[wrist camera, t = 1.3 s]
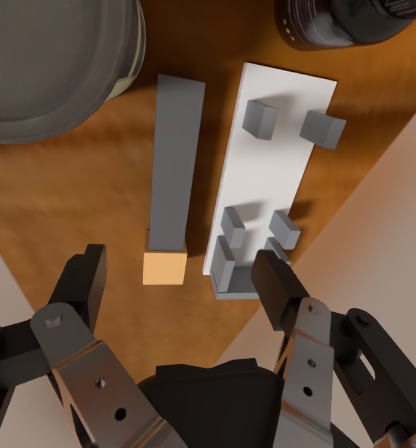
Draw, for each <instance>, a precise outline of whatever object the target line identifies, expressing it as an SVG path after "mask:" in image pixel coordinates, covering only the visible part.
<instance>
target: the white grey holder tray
mask: <svg viewBox="0 0 416 448" xmlns="http://www.w3.org/2000/svg"><path fill="white" fill-rule="evenodd" d="M336 84H337V82H336V81H331V80H326V79H322V78H317V77H312V76H308V75H303V74H298V73H293V72H289V71H284V70H279V69H275V68H270V67H265V66H261V65H256V64H251V63H244V66H243V71H242V76H241V81H240V86H239V91H238V96H237V101H236V106H235V111H234V116H233V121H232V126H231V131H230V136H229V141H228V146H227V151H226V156H225V161H224V166H223V171H222V176H221V181H220V186H219V191H218V196H217V201H216V206H215V211H214V216H213V221H212V226H211V231H210V236H209V241H208V246H207V251H206V256H205V261H204V266H203V274H204V275H210V276H211V280H212V284H213V288H214V292H215V296H216V299H259V296H258V294H257V292H256V289H255V287H254V285H253V283H252V280H251V269H252V266H253V263H254V260H255V257H256V254H257V251H258V250H259V249H272V250H274V252H275V253H276V255H277V256H278V258H279V259H282V260H284V261H285V262H286V263H287V264H288V265H290V263H291V261H290V260H289V258H288V257H287V255H286V254H285V252H284V251H283V249H294V247H295V244H296V242H297V240H298V237H299V235H300V232H301V231H300V229H299V228H298V227H297V226H296V225H295V224H294V223H293V222H292V220H291V219H290V218H289V217H288V214H289V211H290V208H291V205H292V203H293V200H294V197H295V195H296V192H297V189H298V187H299V184H300V181H301V178H302V176H303V173H304V170H305V168H306V165H307V162H308V160H309V157H310V154H311V151H312V149H313V146H314V144H316V145H318V146H320V147H322V148H328V149H335V148H336V146H337V143H338V141H339V139H340V136H341V134H342V131H343V129H344V127H345V124H346V122H347V121H346V120H343V119H339V118H335V117H332V116H328V115H325V114H326V111H327V108H328V105H329V103H330V100H331V97H332V95H333V92H334V89H335V87H336ZM278 242H279V243H280V245H281V246H282V248H283V249H282V248H281V247H280V245H279V244H278Z"/></svg>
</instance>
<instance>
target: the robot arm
mask: <svg viewBox="0 0 416 448" xmlns="http://www.w3.org/2000/svg"><path fill="white" fill-rule="evenodd" d="M106 276H107V261H106V246H105V244H88V246H87V248H86V251H85V254H75V255H74V256H73V257H72V258H71V259H69V260H68V261H67V263H66V265H65V267H64V270H63V272H62V274H61V276H60V278H59V280H58V283H57V285H56V287H55V289H54V291H53V293H52V296H51V298H50V300H49V302H48V304H47V305H46V306H44V307H42V308H41V309H39V310H38V311H37V312H36V313H35V314H34V315H33V317H32V318H31V319H29V320H27V321H24V322H20V323H17V324H13V325H9V326H5V327H0V427H1V424H2V422H3V419H4V416H5V414H6V411H7V408H8V406H9V403H10V401H11V398H12V395H13V393H14V390H15V387H16V386H17V385H19V384H22V383H25V382H28V381H30V380H33V379H36V378H39V377H41V376H44V375H45V376H46V378H47V380H48V382H49V384H50V385H51V387H52V389H53V391H54V393H55V395H56V397H57V399H58V401H59V403H60V405H61V407H62V409H63V411H64V413H65V416H66V418H67V421H68V423H69V426H70V428H71V430H72V432H73V435H74V437H75V438H76V441H77V443H78V444H79V447H80V448H360V447H358V446H357V445H356V444H355V443H354V442H353V441H352V440H351V439H350V438H348V437H347V436H346V435H345V434H344V433H343V432H342V431H340V429H338V428H337V427H336V426H335V425H334V424H333V423H332V422H331V421H330V417H331V400H332V380H333V370H334V371H335V373H336V375H337V377H338V379H339V381H340V382H341V384H342V386H343V388H344V390H345V392H346V394H347V396H348V398H349V399H350V401H351V403H352V405H353V407H354V409H355V410H356V412H357V414H358V416H359V418H360V420H361V422H362V424H363V426H364V427H365V429H366V431H367V433H368V435H369V437H370V439H371V440H372V442H373V444H374V448H416V368H415V367H414V365H413V364H412V363H411V362H410V360H409V359H408V358H407V357H406V356H405V354H404V353H403V352H402V351H401V349H400V348H399V347H398V346H397V345H396V343H395V342H394V341H393V340H392V338H391V337H390V336H389V335H388V334H387V332H386V331H385V330H384V329H383V328H382V327H381V325H380V324H379V323H378V321H377V320H376V319H375V318H374V317H373V316H371V315H370V314H369V313H367V312H366V311H363V310H361V309H357V308H352V309H350V310H349V311H348V312H347V314H346V315H344V314H340V313H336V312H332V311H330V310H329V308H328V307H327V306H326V305H325V304H324V303H323V302H321V301H320V300H318V299H316V298H312V297H310V295H309V294H308V292H307V291H306V290H305V288H304V287H303V285H302V284H301V282H300V281H299V279H297V276H296V275H295V273H293V270H292V269H291V267H290V266H289V265H288V264H287V263H286V262H285V261H284V260H282V259H279V258H278V256H277V255H276V253H275V252H274V250H272V249H259V250H258V251H257V254H256V257H255V260H254V263H253V266H252V269H251V280H252V283H253V285H254V287H255V289H256V292H257V294H258V296H259V298H260V300H261V303H262V305H263V307H264V309H265V311H266V314H267V316H268V318H269V320H270V322H271V325H272V327H273V329H274V331H284V333H285V335H284V337H283V339H282V343H281V347H280V350H279V354H278V357H277V361H276V364H275V368H274V371H273V372H272V371H270V370H268V369H265V368H262V367H259V366H258V365H257V362H256V359H255V358H249V359H237V360H231V361H228V362H226V363H223V364H221V365H218V366H215V367H213V368H202V367H196V366H191V365H185V364H176V365H164V366H156V373H155V375H153V376H150V377H148V378H146V379H144V380H143V381H141V382H140V383H138V384H137V385H136V383H135V382H134V381H133V379H132V378H131V377H130V375H129V374H128V373H127V371H126V370H125V369H124V367H123V366H122V365H121V363H120V362H119V360H118V359H117V358H116V356H115V355H114V354H113V352H112V351H111V350H110V348H109V347H108V346H107V344H106V343H105V342H104V341H102V340H100V341H97V340H96V339H95V337H94V336H93V333H94V329H95V325H96V320H97V316H98V312H99V308H100V304H101V299H102V295H103V291H104V287H105V282H106ZM362 353H363V354H364V356H365V357H366V359H367V360H368V362H369V363H370V365H371V366H372V368H373V369H374V372H375V380H374V379H373V377H372V376H371V374H370V372H369V371H368V369H367V368H366V367H365V365H364V363H363V362H362V360H361V359H360V356H361V355H362Z"/></svg>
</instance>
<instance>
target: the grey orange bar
mask: <svg viewBox="0 0 416 448" xmlns="http://www.w3.org/2000/svg"><path fill="white" fill-rule="evenodd" d="M205 84H206V83H204V82H201V81H197V80H192V79H187V78H181V77H176V76H170V75H165V74H159V73H158V82H157V101H156V121H155V140H154V159H153V178H152V198H151V217H150V230H146V235H145V249H144V270H143V284H183V279H184V272H185V265H186V259H187V249H186V243H185V230H186V223H187V216H188V209H189V201H190V194H191V187H192V179H193V172H194V165H195V157H196V150H197V143H198V136H199V128H200V121H201V114H202V106H203V99H204V92H205Z"/></svg>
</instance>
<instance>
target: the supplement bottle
mask: <svg viewBox="0 0 416 448" xmlns="http://www.w3.org/2000/svg"><path fill="white" fill-rule="evenodd" d="M274 17H275V23H276V26H277V29H278V31H279V33H280V35H281V37H282V38H283V40H284V41H285V42H286V43H287V44H288V45H289V46H291V47H292V48H294V49H296V50H300V51H320V50H330V49H340V48H350V47H360V46H367V45H374V44H378V43H381V42H384V41H386V40H388V39H390V38H392V37H394V36H395V35H397V34H398V33H400V32H401V31H402V30H404V29H405V28H406V27H407V26H408V25H410V24H411V23H412V22H413V21H414V20H415V19H416V0H274Z"/></svg>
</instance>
